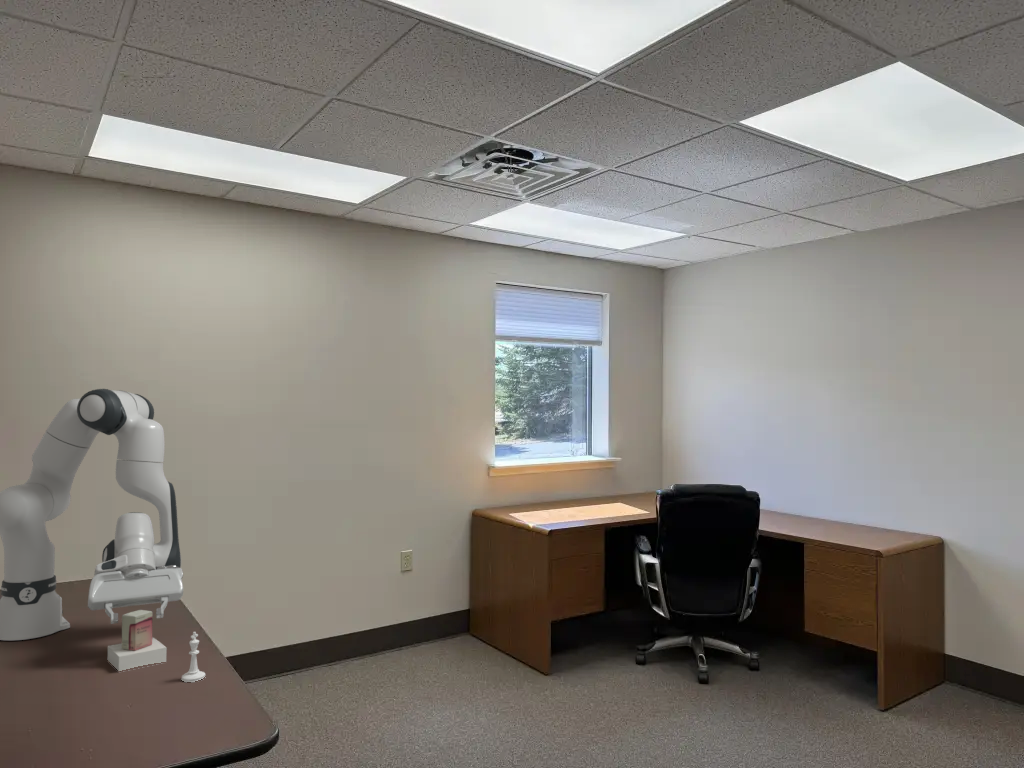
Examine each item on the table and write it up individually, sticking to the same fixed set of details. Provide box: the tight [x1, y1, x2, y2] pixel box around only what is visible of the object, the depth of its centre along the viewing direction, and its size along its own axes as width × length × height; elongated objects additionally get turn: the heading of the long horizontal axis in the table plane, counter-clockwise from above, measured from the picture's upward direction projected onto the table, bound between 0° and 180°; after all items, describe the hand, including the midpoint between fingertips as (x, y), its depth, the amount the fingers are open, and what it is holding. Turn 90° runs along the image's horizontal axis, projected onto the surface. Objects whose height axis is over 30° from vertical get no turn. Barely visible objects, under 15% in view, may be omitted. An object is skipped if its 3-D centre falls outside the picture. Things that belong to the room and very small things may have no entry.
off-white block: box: [107, 636, 168, 672], centre depth 171 cm, size 10×10×4 cm
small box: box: [121, 609, 153, 651], centre depth 171 cm, size 5×4×8 cm
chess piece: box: [180, 631, 206, 683], centre depth 161 cm, size 5×5×10 cm
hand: (137, 619), depth 171 cm, fingers open, 8 cm apart
